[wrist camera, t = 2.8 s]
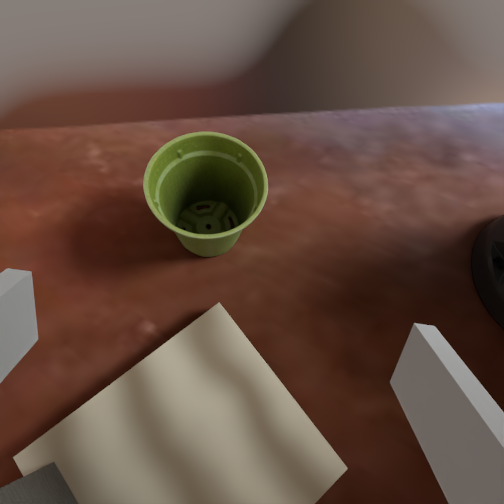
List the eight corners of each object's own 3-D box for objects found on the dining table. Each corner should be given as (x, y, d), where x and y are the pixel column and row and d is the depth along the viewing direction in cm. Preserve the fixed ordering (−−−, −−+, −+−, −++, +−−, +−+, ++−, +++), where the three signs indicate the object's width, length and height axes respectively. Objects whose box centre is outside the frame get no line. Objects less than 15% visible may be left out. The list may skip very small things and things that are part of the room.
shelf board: (218, 308, 32) (219, 302, 30) (337, 461, 29) (347, 468, 27) (30, 451, 27) (12, 457, 25) (147, 658, 24) (140, 688, 22)
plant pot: (149, 198, 36) (131, 143, 28) (239, 177, 37) (246, 121, 29) (172, 285, 33) (159, 253, 25) (268, 258, 35) (285, 220, 27)
